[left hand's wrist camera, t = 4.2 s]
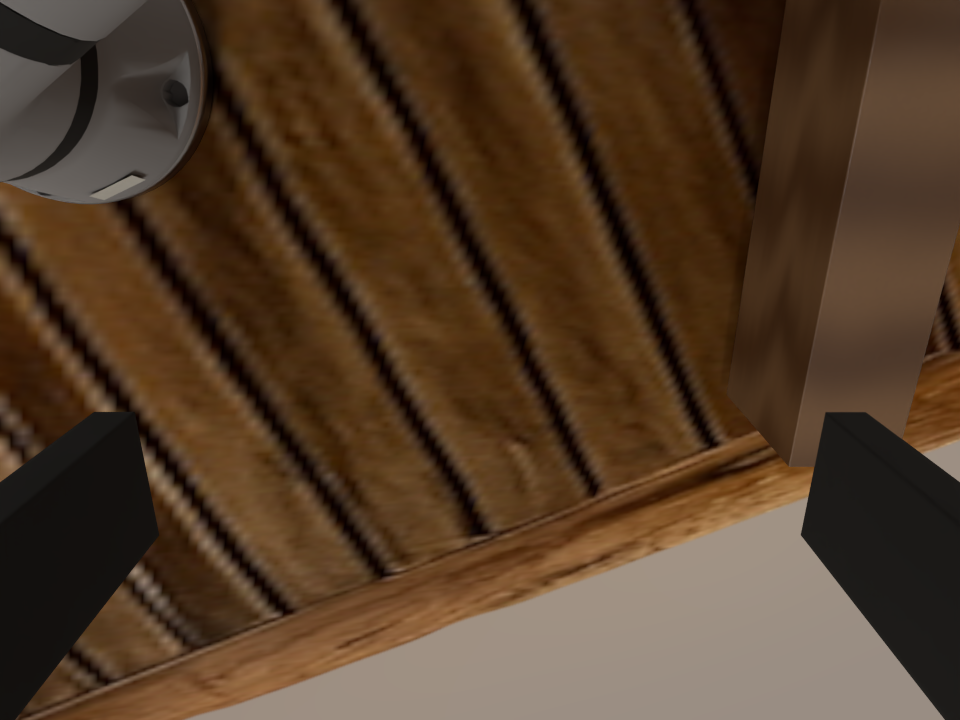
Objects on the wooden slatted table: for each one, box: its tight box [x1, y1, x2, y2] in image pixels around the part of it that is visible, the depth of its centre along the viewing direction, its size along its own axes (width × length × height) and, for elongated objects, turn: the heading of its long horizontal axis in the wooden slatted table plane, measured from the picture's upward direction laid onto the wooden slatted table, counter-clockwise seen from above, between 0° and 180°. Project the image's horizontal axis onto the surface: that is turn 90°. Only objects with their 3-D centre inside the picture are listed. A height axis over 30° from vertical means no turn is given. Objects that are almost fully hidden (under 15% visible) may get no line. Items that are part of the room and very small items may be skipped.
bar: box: [727, 0, 960, 467], centre depth 33 cm, size 27×6×9 cm, turn 0°
